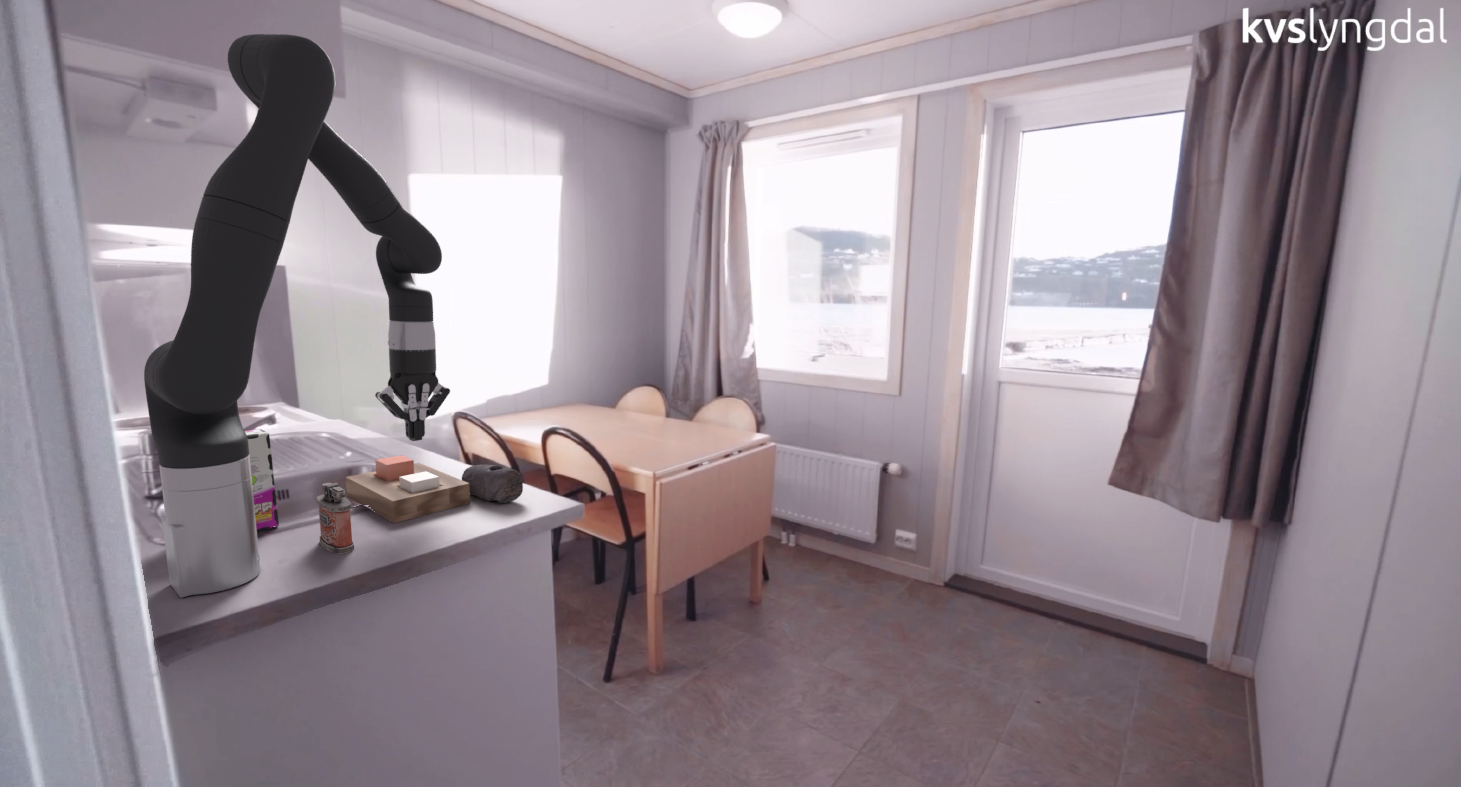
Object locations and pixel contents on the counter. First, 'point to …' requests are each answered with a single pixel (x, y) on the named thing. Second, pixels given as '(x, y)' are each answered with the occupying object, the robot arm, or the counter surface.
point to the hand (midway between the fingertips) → (415, 439)
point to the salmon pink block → (394, 467)
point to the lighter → (335, 519)
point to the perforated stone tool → (494, 482)
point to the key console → (407, 495)
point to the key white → (419, 482)
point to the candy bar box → (262, 479)
